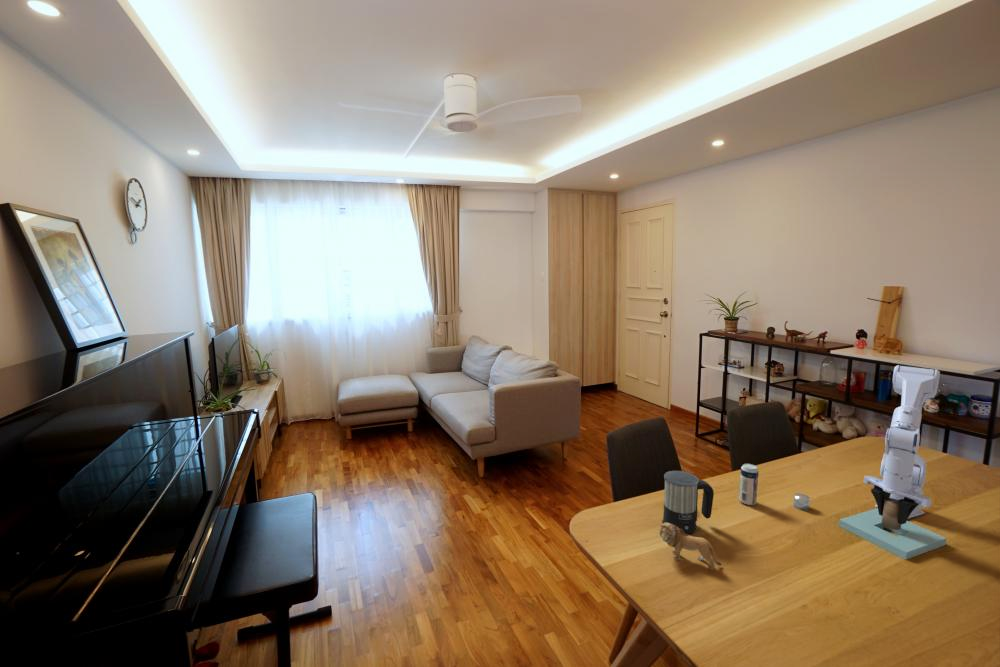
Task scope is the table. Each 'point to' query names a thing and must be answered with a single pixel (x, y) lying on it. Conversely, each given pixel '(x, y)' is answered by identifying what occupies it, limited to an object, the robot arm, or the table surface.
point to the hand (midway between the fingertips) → (892, 518)
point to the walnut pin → (891, 513)
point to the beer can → (748, 484)
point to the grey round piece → (801, 501)
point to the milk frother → (685, 500)
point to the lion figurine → (686, 543)
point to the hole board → (903, 545)
